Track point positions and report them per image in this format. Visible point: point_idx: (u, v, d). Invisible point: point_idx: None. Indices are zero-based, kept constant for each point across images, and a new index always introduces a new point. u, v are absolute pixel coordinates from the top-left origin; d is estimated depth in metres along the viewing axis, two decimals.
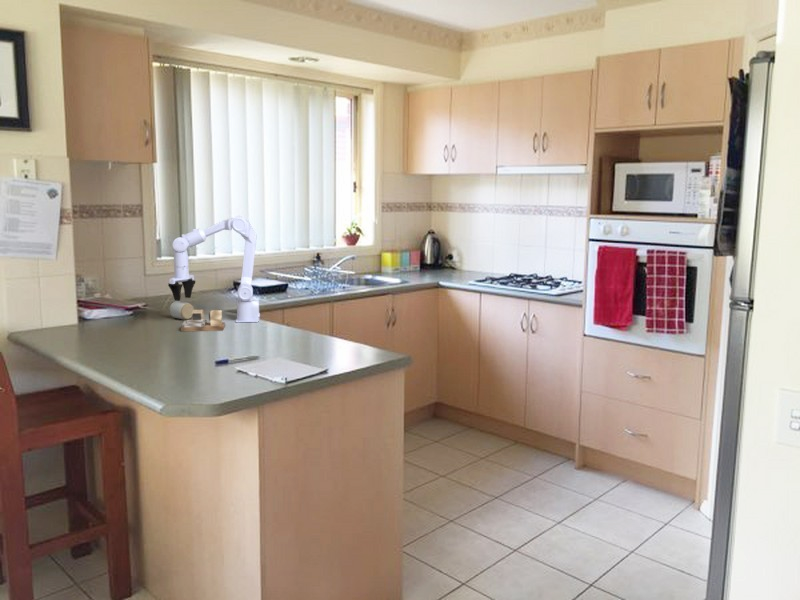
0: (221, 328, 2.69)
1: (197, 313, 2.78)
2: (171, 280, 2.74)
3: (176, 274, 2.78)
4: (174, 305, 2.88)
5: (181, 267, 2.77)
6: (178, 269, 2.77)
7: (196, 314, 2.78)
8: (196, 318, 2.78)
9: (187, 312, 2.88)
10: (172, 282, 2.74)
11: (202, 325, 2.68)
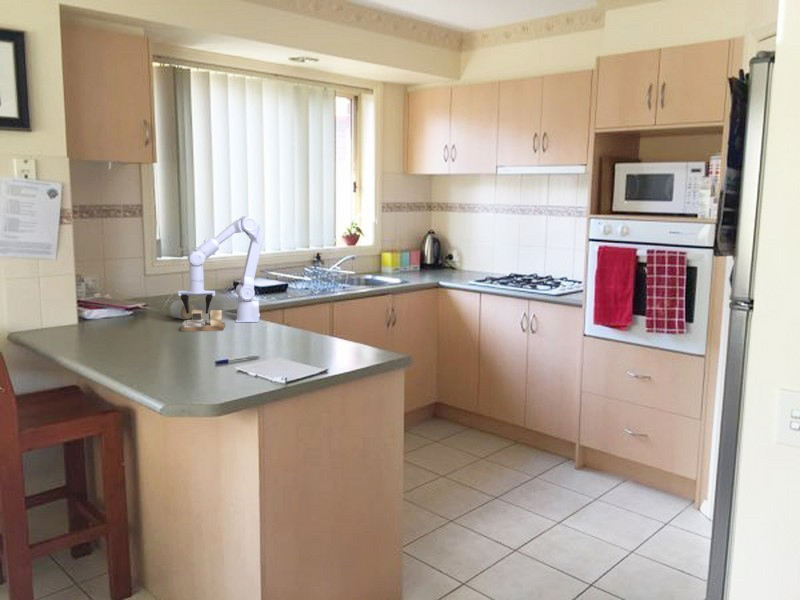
0: (221, 328, 2.69)
1: (197, 313, 2.78)
2: None
3: None
4: (174, 305, 2.88)
5: (190, 281, 2.76)
6: None
7: (196, 314, 2.78)
8: (196, 318, 2.78)
9: None
10: (178, 294, 2.78)
11: (202, 325, 2.68)
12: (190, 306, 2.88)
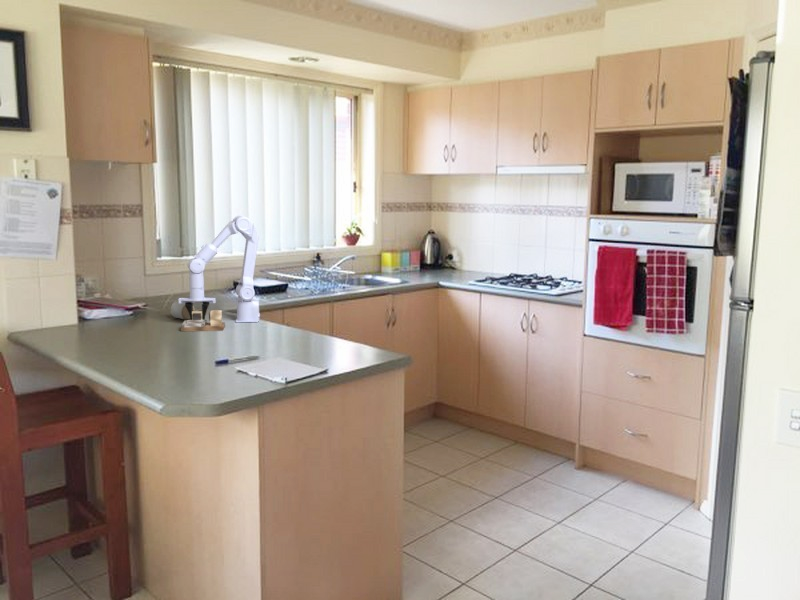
0: (221, 328, 2.69)
1: (197, 313, 2.78)
2: None
3: None
4: (175, 305, 2.88)
5: (190, 288, 2.77)
6: None
7: (196, 314, 2.78)
8: (196, 318, 2.78)
9: (188, 312, 2.88)
10: None
11: (202, 325, 2.68)
12: None
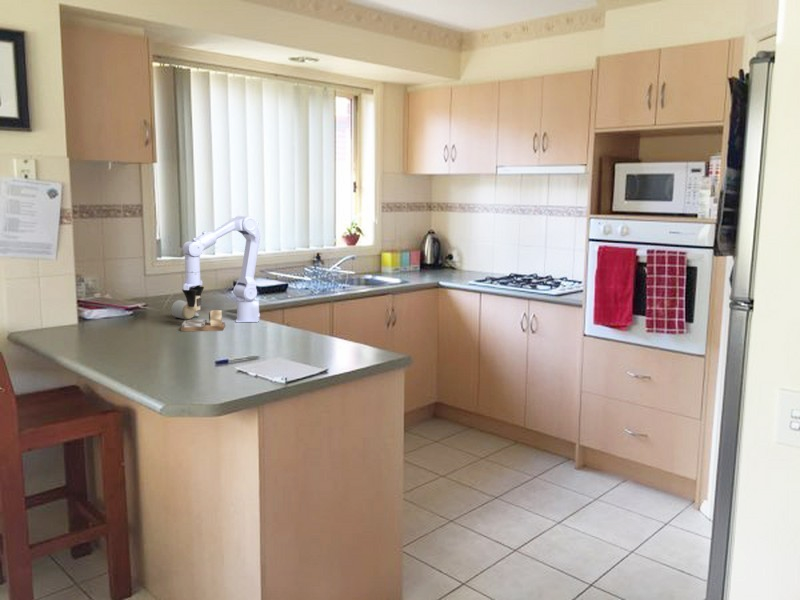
0: (221, 328, 2.69)
1: (199, 298, 2.72)
2: (185, 286, 2.63)
3: (188, 280, 2.68)
4: (176, 305, 2.89)
5: (194, 272, 2.67)
6: (191, 274, 2.67)
7: (199, 299, 2.71)
8: (199, 303, 2.71)
9: (189, 312, 2.88)
10: (186, 288, 2.64)
11: (202, 325, 2.68)
12: None
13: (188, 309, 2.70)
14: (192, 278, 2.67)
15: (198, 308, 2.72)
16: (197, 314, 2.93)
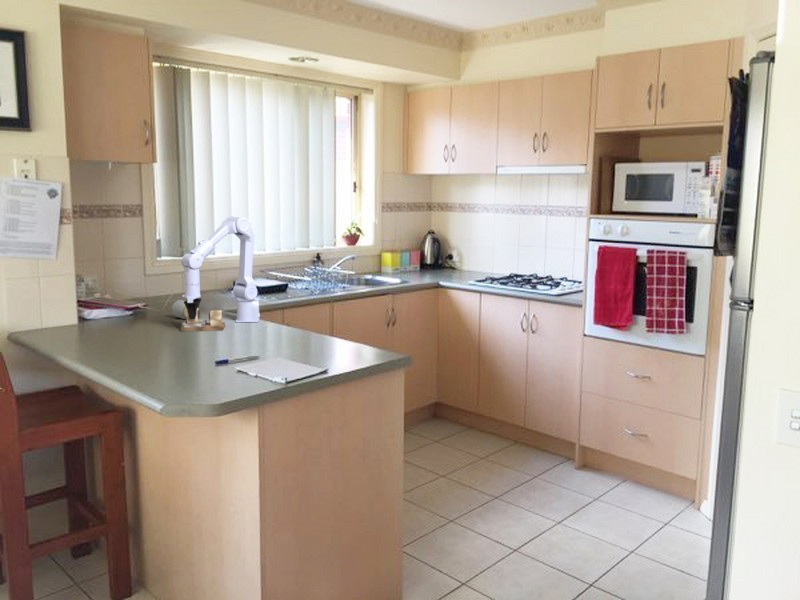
0: (221, 328, 2.69)
1: (198, 310, 2.71)
2: (189, 299, 2.62)
3: (189, 292, 2.66)
4: (176, 305, 2.89)
5: (195, 285, 2.66)
6: (192, 287, 2.66)
7: (199, 311, 2.70)
8: (199, 315, 2.71)
9: None
10: (191, 301, 2.62)
11: (202, 325, 2.68)
12: None
13: (189, 322, 2.69)
14: (193, 290, 2.66)
15: (198, 320, 2.71)
16: None
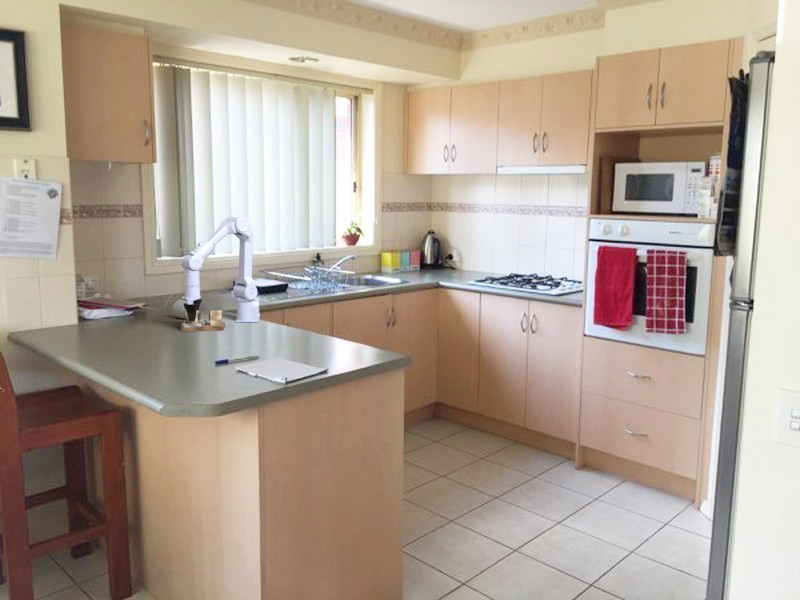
0: (221, 328, 2.69)
1: (199, 313, 2.71)
2: (190, 300, 2.62)
3: (189, 294, 2.66)
4: (177, 305, 2.89)
5: (195, 286, 2.66)
6: (192, 288, 2.66)
7: (199, 314, 2.71)
8: (199, 318, 2.71)
9: None
10: (191, 302, 2.62)
11: (202, 325, 2.68)
12: None
13: None
14: (193, 292, 2.66)
15: (198, 323, 2.71)
16: None
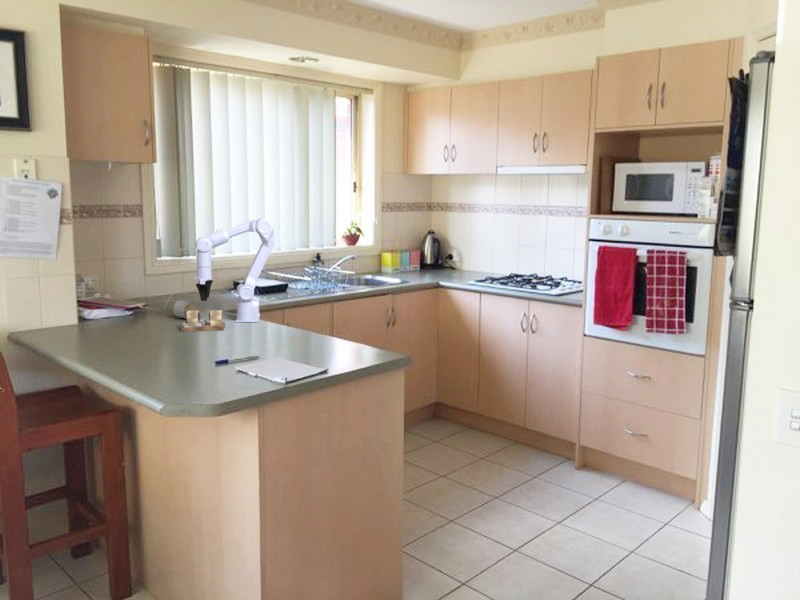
0: (221, 328, 2.69)
1: (199, 313, 2.71)
2: (202, 280, 2.74)
3: (201, 274, 2.78)
4: (177, 305, 2.89)
5: (207, 267, 2.78)
6: (204, 269, 2.77)
7: (199, 314, 2.71)
8: (199, 318, 2.71)
9: None
10: (203, 282, 2.74)
11: (202, 325, 2.68)
12: (193, 306, 2.89)
13: None
14: (205, 273, 2.78)
15: (198, 323, 2.71)
16: None
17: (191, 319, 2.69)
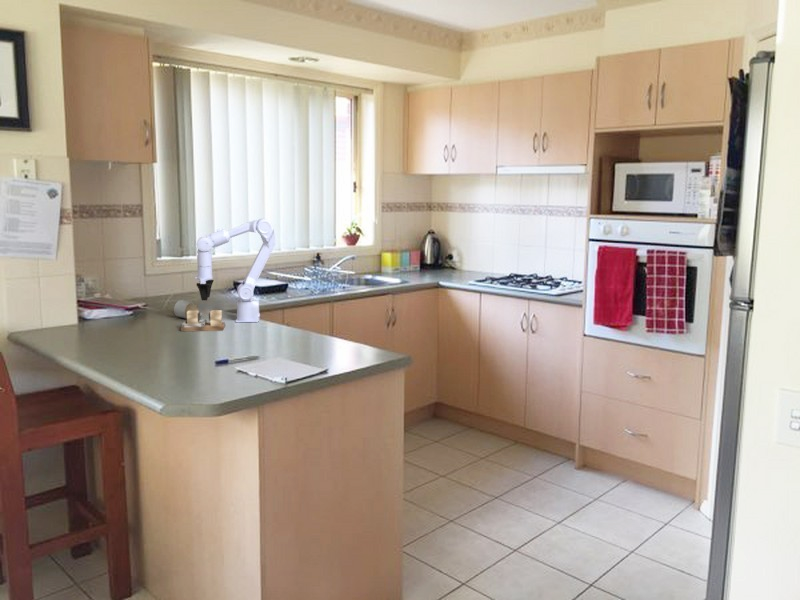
0: (221, 328, 2.69)
1: (199, 313, 2.71)
2: (202, 280, 2.74)
3: (202, 274, 2.78)
4: (178, 304, 2.90)
5: (207, 267, 2.79)
6: (205, 269, 2.78)
7: (199, 314, 2.71)
8: (199, 318, 2.71)
9: None
10: (203, 282, 2.75)
11: (202, 325, 2.68)
12: (194, 305, 2.90)
13: None
14: (206, 272, 2.79)
15: (198, 323, 2.71)
16: (200, 314, 2.94)
17: (191, 319, 2.69)
